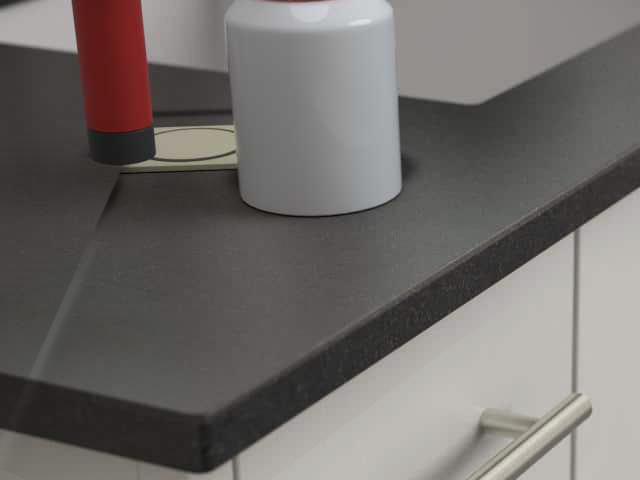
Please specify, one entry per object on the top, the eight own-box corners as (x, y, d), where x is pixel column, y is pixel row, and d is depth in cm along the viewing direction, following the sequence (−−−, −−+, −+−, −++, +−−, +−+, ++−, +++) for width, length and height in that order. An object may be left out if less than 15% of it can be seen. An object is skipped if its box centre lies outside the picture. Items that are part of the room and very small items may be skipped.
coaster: (103, 173, 81) (102, 166, 81) (122, 134, 87) (121, 127, 87) (265, 168, 82) (264, 160, 82) (272, 129, 88) (272, 122, 88)
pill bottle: (221, 178, 80) (198, -55, 75) (370, 158, 83) (358, -69, 78) (265, 226, 74) (244, -25, 69) (425, 202, 77) (416, -42, 71)
